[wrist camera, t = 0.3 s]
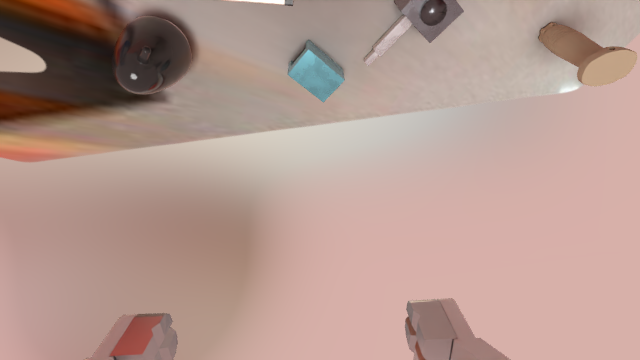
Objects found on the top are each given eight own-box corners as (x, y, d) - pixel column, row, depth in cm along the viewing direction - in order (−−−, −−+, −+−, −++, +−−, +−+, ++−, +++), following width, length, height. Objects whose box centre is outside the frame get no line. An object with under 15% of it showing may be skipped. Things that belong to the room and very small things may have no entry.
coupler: (378, 73, 58) (384, 89, 54) (351, 47, 55) (355, 62, 51) (451, 1, 51) (465, 12, 46) (424, -33, 47) (437, -25, 43)
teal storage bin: (289, 63, 57) (287, 74, 54) (308, 39, 54) (308, 49, 51) (322, 90, 61) (323, 102, 57) (342, 69, 58) (344, 80, 55)
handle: (564, 42, 55) (627, 80, 44) (524, 50, 56) (577, 89, 45) (572, 12, 52) (643, 45, 41) (531, 21, 53) (589, 56, 42)
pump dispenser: (209, 38, 54) (182, 77, 42) (181, 82, 59) (150, 127, 48) (149, -8, 49) (100, 23, 38) (124, 44, 54) (75, 85, 43)
